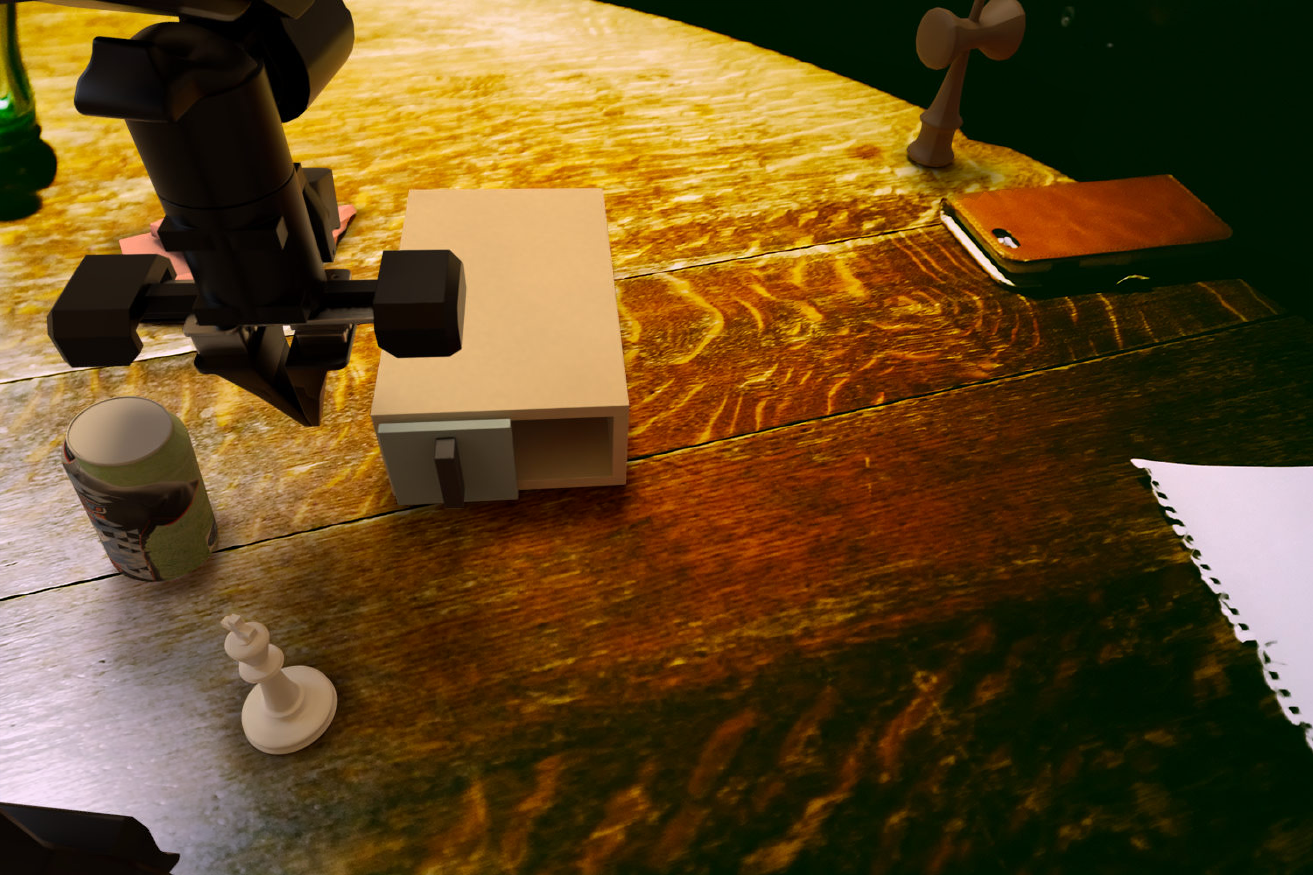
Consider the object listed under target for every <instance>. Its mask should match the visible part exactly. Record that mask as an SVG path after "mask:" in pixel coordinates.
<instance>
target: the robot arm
mask: <svg viewBox="0 0 1313 875" xmlns="http://www.w3.org/2000/svg"><path fill="white" fill-rule="evenodd" d="M29 2H37V3H38V2H39V3H44V4H50V5H56V6H62V7H63V6H64V7H67V8H68V7H69V8H77V9H89V10H100V11H110V12H121V13H131V14H141V15H151V16H164V17H174V18H178V21H161V22H156V23H153V24H150V25H147V26H145V27H143V28H142V29H141V30H139V31H138V32H136V33H135V34H134V35H132V36H131V37H129V38H123V37H113V36H103V35H97V36H95V37H93V39H92V46H91V55H90V59H89V61H88V63H87V66H86V68H85V69H84V70H83V72H82V73H81V74H80V76H79V77H78V78H77V81H76V85H75V91H74V96H73V105H74V106H73V107H75V110H76V111H77V112H78V113H79V114H80V115H82V116H85V117H96V118H106V119H115V120H123V121H124V122H125V125H126V127H127V130H128V132H129V134H130V136H131V139H132V141H133V143H134V145H135V148H136V150H137V152H138V154H139V157H140V159H141V161H142V163H143V166H144V168H145V170H146V173H147V175H148V177H149V179H150V182H151V184H152V187H153V189H154V191H155V195H156V196H157V198H158V201H159V203H160V205H161V208H162V210H163V213H164V214H165V215H164V217H163V218H164V219H163V218H162V219H163V221H162V223H161V225H160V226H159V228H158V230H157V233H158V236H159V238H160V240H161V242H162V245H163V247H164V249H165V251H166V252H182V254H183V256H184V258H185V260H186V263H187V265H188V267H189V270H190V272H191V274H192V277H193V279H188V280H175V279H176V277H177V274H176V271H175V269H174V267H173V265H172V263H171V260H170V258H167V257H165V256H162V255H159V254H123V253H116V254H112V253H111V254H109V253H108V254H85V255H84V257H83V258H82V259H81V260H80V262H79V264H78V265H77V267H76V268H75V270H74V272H73V273H72V275H70V277H69V280H68V281H67V283H66V284H65V286H64V287H63V289H62V291H61V292H60V294H59V296H58V297H57V299H56V301H55V302H54V304H53V306H52V307H51V308H50V310H49V312H48V314H47V315H46V330H47V331H46V332H47V336H48V338H49V339H50V341H51V343H52V344H53V346H54V347H55V349H56V350H57V352H58V354H59V355H60V357H61V358H62V360H63V361H64V362H65V363H66V364H67V365H68V366H69V367H70V368H72V369H80V368H81V369H82V368H84V369H85V368H115V367H118V368H119V367H130V366H131V365H132V364H133V362H135V360H136V359H137V358H138V357H139V356H140V355H141V352H142V351H143V348H144V346H145V345H144V343H143V341H142V339H141V337H140V335H139V334H138V332H137V329H138V327H139V326H140V324H141V325H142V324H143V325H144V324H146V325H147V324H155V323H158V324H183V326H182V329H181V331H182V332H183V335H184V336H185V337H186V338H190V339H191V341H192V344H193V345H194V348H195V350H196V354H195V357H194V359H193V366H194V368H195V369H196V371H197V372H198V373H200V374H202V375H213V376H218V377H220V378H222V379H224V380H226V381H227V382H229V383H232V384H233V385H235V386H237V387H239V388H241V389H243V390H245V391H247V392H248V393H250V394H252V395H254V396H255V397H258V398H259V399H261V400H262V401H264V402H265V403H268V404H269V405H270V406H272V407H273V408H275V409H277V410H278V411H280V412H281V413H283V414H284V415H286V416H288V417H289V418H290V419H292V420H294V421H295V422H297V423H298V424H300V425H301V426H303V427H304V428H317V427H320V426H321V423H322V419H323V413H324V405H325V398H326V389H327V388H326V387H327V378H328V372H334V371H335V372H336V371H340V370H343V369H345V368H346V367H348V365H349V364H350V361H351V356H352V351H353V346H354V341H355V337H356V332H357V329H358V325H370V324H371V325H373V332H374V336H375V340H376V344H377V347H378V348H379V349H381V350H382V349H383V350H384V351H386V352H388V353H389V354H391V355H393V356H394V357H396V358H426V357H450V356H452V355H453V354H455V353H457V352H458V351H460V350H461V349H462V340H463V328H464V315H465V302H466V289H467V287H466V280H465V273H464V266H463V263H462V261H461V260H460V259H459V258H458V257H457V256H456V255H455V254H454V253H453V252H452V251H450V250H449V249H445V250H399V249H390V250H389V249H388V250H386V249H385V250H384V249H383V250H382V254H381V259H380V265H379V269H378V274H377V278H376V279H352V278H353V276H352V271H351V270H350V269H349V268H325V266H324V264H332V263H334V261H335V257H336V254H337V243H336V244H335V241H334V237H333V233H332V232H333V230H334V229H335V230H338V229H339V228H340V227H341V223H340V217H339V211H338V206H339V205H338V200H337V199H338V198H337V192H336V187H335V179H334V173H333V170H332V169H331V168H329V167H303V166H302V163H301V161H300V162H295V161H294V160H293V157H292V153H291V150H290V147H289V144H288V140H287V137H286V132H285V129H284V126H283V124H287V123H290V122H291V121H294V120H296V119H298V118H299V117H301V116H302V115H303V114H304V113H305V112H306V111H307V110H308V109H309V107H311V105H312V104H313V103H314V101H315V100H316V99H317V98H318V96H319V95H320V94H321V93H322V92H323V91H324V89H325V88H326V87H327V86H328V85H329V83H330V82H331V81H332V79H334V77H335V76H336V75H337V74H338V72H339V71H340V70H341V69H342V67H343V66H344V65H345V64H346V63H347V61H348V59H349V58H350V55H351V54H352V52H353V50H354V49H353V48H354V44H355V38H356V37H355V36H356V35H355V23H354V19H353V15H352V12H351V10H350V9H349V8H348V7H347V5H346V3H345V2H344V0H0V5H9V4H20V3H29ZM287 326H288V327H289V328H290V330H291V331H294V333H293V337H292V339H291V343H290V344H289V342H288V340H287V338H286V333H285V330H284V327H287ZM180 859H181V853H180V852H171V851H163V850H162V849H160V847H159V846H158V844H157V842H156V841H155V839H154V836H153V834H152V833H151V830H150V828H148V827H147V826H146V825H145V824H143V822H141V821H140V820H139V819H137V818H136V817H134V816H133V815H125V814H114V813H105V812H95V811H88V810H87V811H86V810H80V809H79V810H78V809H69V808H61V807H52V806H42V805H32V804H23V803H15V802H5V801H0V875H174V873H171V872H172V871H173V869H174V868H175V867H176V866H177V865H178V863H179V862H180Z"/></svg>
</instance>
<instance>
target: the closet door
mask: <svg viewBox="0 0 1313 875" xmlns="http://www.w3.org/2000/svg"><path fill="white" fill-rule="evenodd" d="M378 436H379V439H380V443H381V446H382V450H383V453H384V457H385V460H386V464H387V467H388V471H389V474H390V478H391V481H392V485H393V488H394V492H395V495H396V496H395V500H396V502H397V506H409V505H410V506H413V505H433V504H435V505H436V504H443V507H444V509H445V510H454V509H455V510H457V509H464V506H465V503H473V502H475V503H476V502H494V501H511V500H512V501H513V500H518V499H519V490H518V483H517V474H516V465H515V456H514V446H513V437H512V428H511V419H491V420H466V421H441V422H415V423H390V424H379V428H378Z"/></svg>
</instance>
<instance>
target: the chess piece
mask: <svg viewBox="0 0 1313 875" xmlns="http://www.w3.org/2000/svg"><path fill="white" fill-rule="evenodd" d="M219 624H220V625H221V627H222V628H224V629H226V630H228V631H230V632H229V633H228V634H227V636H226V638H225V641H224V650H225V653H226V654H227V656H228V657H230V658H231V659H233V660H234V661H237V662H239V663H238V674H239V676H240V677H241V679H242V680H243V681H244V682H247V683H249V684H256V685H254V687H253V688H252V689H251V691H250V692H249V693H248V695H247V697H246V699H245V700H244V703H243V707H242V710H241V724H242V725H241V726H242V728H243V731H244V735H245V737H246V739H247V741H248V742H249V743H250V745H252V746H253V747H254V748H256V749H257V750H258V751H260V752H263V753H266V754H270V755H287V754H291V753H295V752H297V751H300V750H302V749H305V748H306V747H308V746H310V745H311V744H313V743H314V742H316V741H317V740H318V739H319V738H320V737H321V736H322V735H323V734H324V733H325V732H326V731H327V729H328V728H329V727H330V725H331V723H332V722H333V719H334V718H335V715H336V711H337V706H338V695H337V691H336V688H335V686H334V684H333V682H332V681H331V680H330V679H329V678H328V677H327V676H326V675H325V673H323V672H322V671H320V670H319V669H317V668H315V667H311V666H307V665H290V666H286V667H283V665H284V662H285V656H284V653H283V650H282V649H281V648H280V647H278V646H276V645H275V644H272V643H270V632H269V630H268V628H267V626H266V625H265V624H263V623H261V622H259V621H247V622H244V619H243V618H242V617H241V616H240V615H238V614H236V613H234V612H232V614H231V615H230V616H229V615H225V616H224V618H222V620H221V621H220V622H219Z"/></svg>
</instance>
